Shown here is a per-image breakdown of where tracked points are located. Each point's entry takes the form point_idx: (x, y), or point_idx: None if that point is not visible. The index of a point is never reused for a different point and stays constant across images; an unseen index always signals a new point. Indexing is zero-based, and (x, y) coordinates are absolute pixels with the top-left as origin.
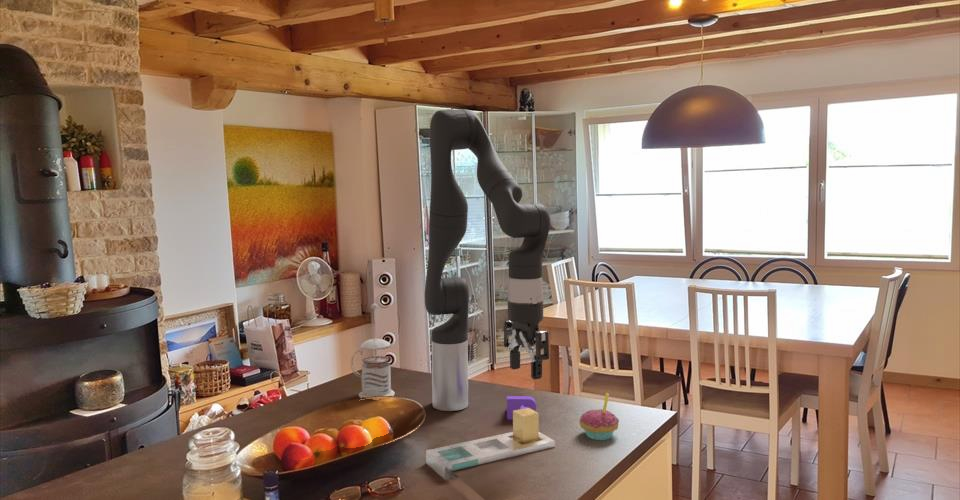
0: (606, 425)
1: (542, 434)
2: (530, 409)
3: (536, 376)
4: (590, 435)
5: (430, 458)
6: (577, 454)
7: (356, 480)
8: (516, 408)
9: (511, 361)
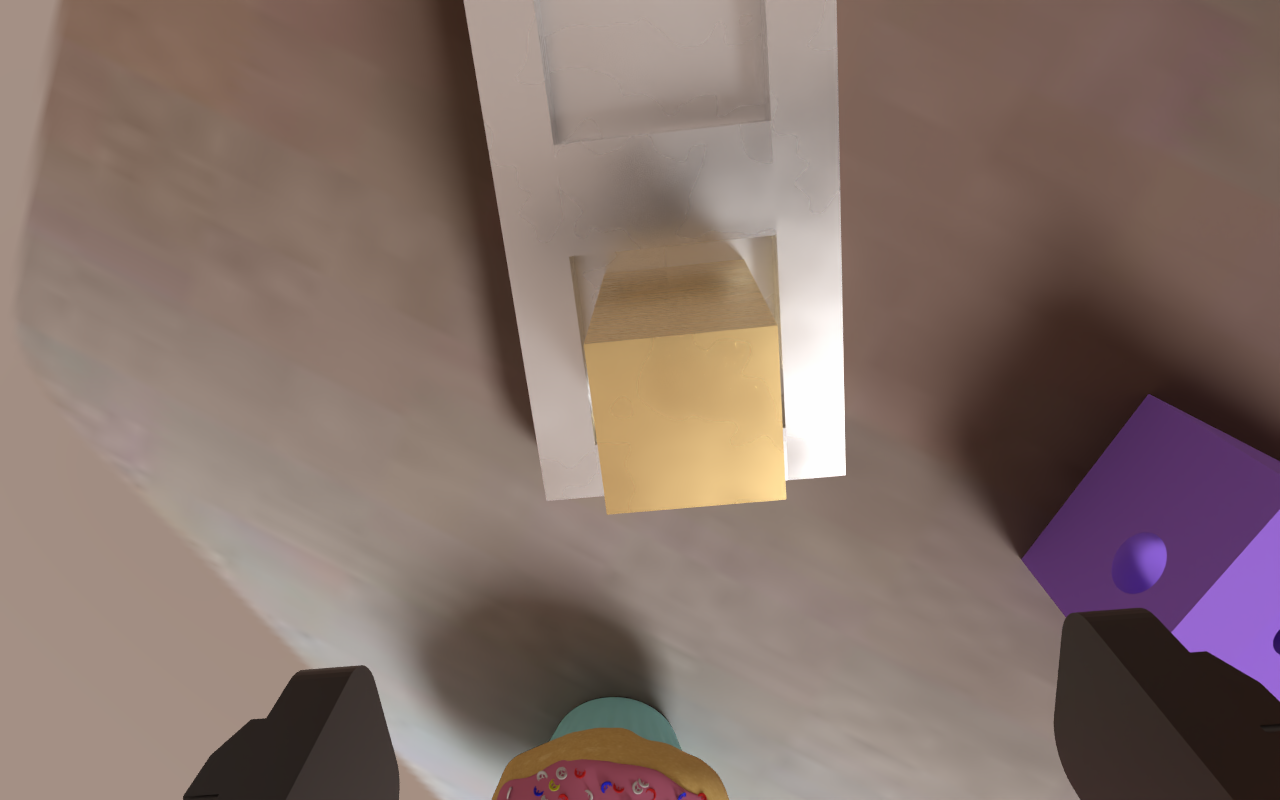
0: None
1: None
2: (733, 492)
3: (238, 739)
4: (581, 728)
5: None
6: (494, 566)
7: None
8: (1181, 514)
9: (1171, 714)
